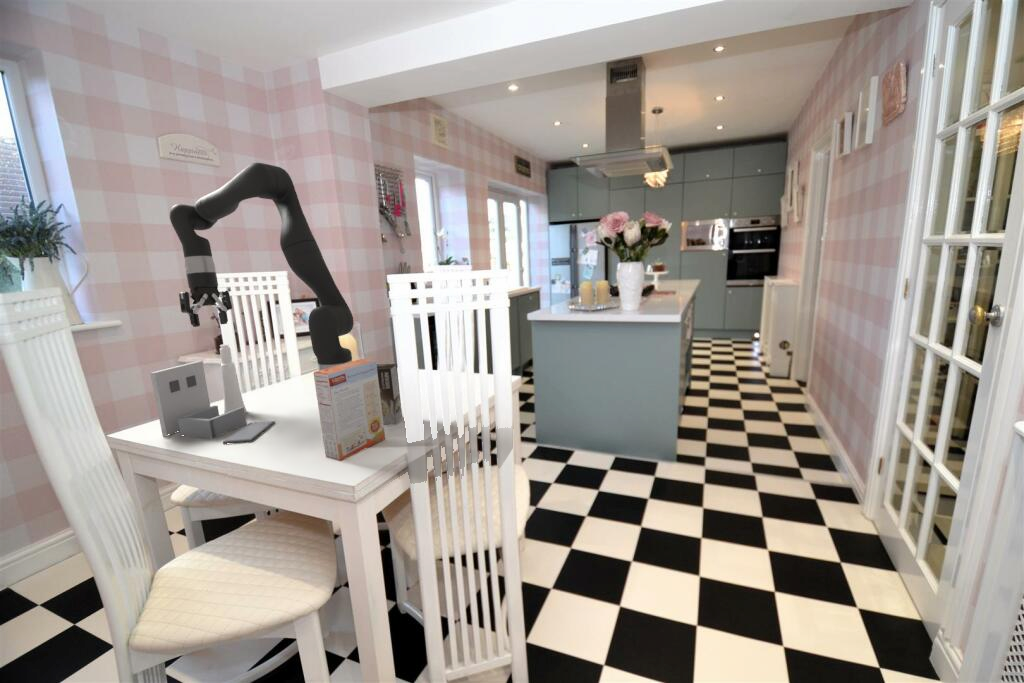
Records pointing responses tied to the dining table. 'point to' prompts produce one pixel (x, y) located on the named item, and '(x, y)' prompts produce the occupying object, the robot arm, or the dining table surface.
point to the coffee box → (389, 393)
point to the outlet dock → (190, 403)
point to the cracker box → (349, 407)
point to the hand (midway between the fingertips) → (210, 325)
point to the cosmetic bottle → (230, 381)
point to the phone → (249, 432)
